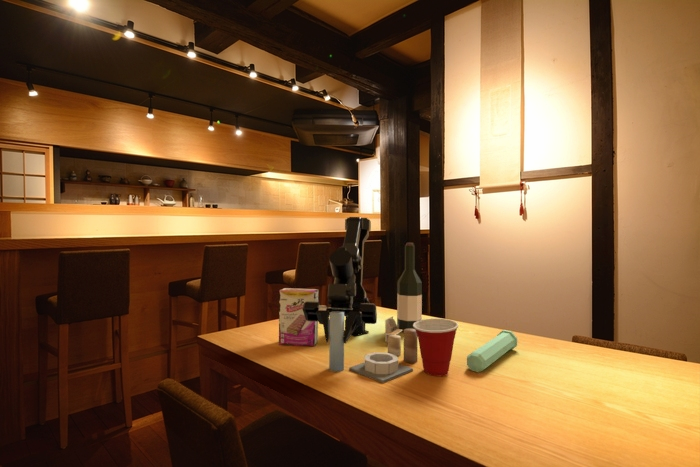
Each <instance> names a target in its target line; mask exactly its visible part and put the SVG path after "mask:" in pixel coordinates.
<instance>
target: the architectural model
mask: <svg viewBox="0 0 700 467" xmlns="http://www.w3.org/2000/svg"><path fill="white" fill-rule="evenodd" d="M384 324H385V326H384V327H385V333H384V336H385V339H384V342H385V344H386V343H388V336H389V335H399V334H400V333H402V332H401V331H402V329H398V326H397V321H395V319H394V316H390V317H388V318H386V319H385V320H384Z"/></svg>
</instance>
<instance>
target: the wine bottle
mask: <svg viewBox="0 0 700 467" xmlns="http://www.w3.org/2000/svg"><path fill="white" fill-rule="evenodd" d="M415 256H416V246H415V244H414V242H406V244H405V245H404V270H403V272H402V273H401V275H400V277H399V278H398V279H397V285H396V286H397V288H396V290H397V291H396V292H397V298H396V299H397V300H396V301H397V302H396V303H397V304H396V307H397V310H396V312H397V313H396V314H397V316H396V324H397V326H398V329H402V331H401V332H400V333H403V334H404V329H415V328H414V327H413V324H414V323H415V322H417V321H420V320H423V319H422V317H423V316H422V314H423V313H422V311H423V310H422V308H423V307H422V306H423V303H422V302H423V301H422V300H423V294H422V293H423V292H422V291H423V289H422V287H423V284H422V283H423V282H422V280H421V278H420V276H419V275H418V274H417V271H416V269H415V266H416V265H415V263H416V258H415Z"/></svg>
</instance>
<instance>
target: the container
mask: <svg viewBox="0 0 700 467" xmlns="http://www.w3.org/2000/svg"><path fill="white" fill-rule="evenodd" d="M517 347H518V337H517V336H516V335H515V333H514V332H513V331H512V330H506V329H503V330H501V331H500V332H499V333H498V334H497V335H496V336H495V337H494V338H492V339H490V340H489V341H487V342H486V343H484V344H483V345H481V346H479V347H478V348H477V349H475V350H473V351H472V352H470V354H468V355H467V356H466V366H467V367H468V368H469V370H470V371H471V372H476V373H481V372H482V371H484V370H485V369H486V368H488V367H489V366H490V365H492V364H493V363H494V362H495V361H497V360H498V359H500V358H501V357H502V356H504V355H505V354H506V353H507V352H509V351H512V350H514V349H515V348H517Z"/></svg>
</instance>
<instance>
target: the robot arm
mask: <svg viewBox="0 0 700 467" xmlns="http://www.w3.org/2000/svg"><path fill="white" fill-rule="evenodd" d="M344 221H345V222H344V230H345V231H346V232H345V235H344V240H343V244H342V246H338V249H336V250H335V251H333V252H331V253H330V255H329V256H328V257H329V258H328V260H329V265H330V269H331V273H332V277H334V281H333V283H329V284H328V287H327V288H328V289H327V298H328V300H327V302H328V305H329V306H328V305H323V304H322V305H321V303H320V301H318V302H317V301H306V302H305V303H304V304H303V312H304V315H305V318H306V320H307V321H318V325H319V324H320V325H323V332H324V337H325V342H326V344H327V343H329V328H330V312H332V311H342V312H344V317H345V319H344V344H347V342H348V341H349V339H350V337H351V336H354V337H357V336H362V335H365V334H369V333H370V332H369V330H366V324H369V325H373V324H374V325H375V324H377V322H378V321H377V320H378V312H377V305H376V304H375V303H370V301H369V297H367V292H366V290H365V288H364V286H363V270H364V265H363V264H364V248H365V243H366V241H367V240H368V238H369V237H370V235H369V234H370V233H369V232H370V231H371V230H372V223H371V222H372V221H371V220H370V219H369V218H368V217H361V216H349V217H347V218H346V219H344Z"/></svg>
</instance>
